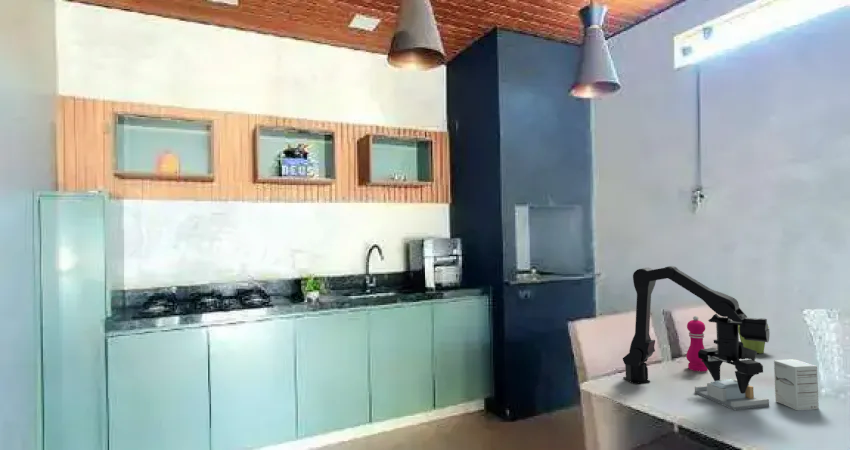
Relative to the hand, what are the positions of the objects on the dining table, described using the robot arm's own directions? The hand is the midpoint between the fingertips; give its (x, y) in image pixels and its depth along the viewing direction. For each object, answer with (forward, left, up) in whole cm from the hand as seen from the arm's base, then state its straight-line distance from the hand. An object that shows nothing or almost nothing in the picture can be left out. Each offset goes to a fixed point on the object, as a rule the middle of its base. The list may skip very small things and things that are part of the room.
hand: (729, 388), depth 141 cm
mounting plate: (0, 0, -3) cm, 3 cm away
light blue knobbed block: (0, 0, -2) cm, 2 cm away
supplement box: (+14, -9, -4) cm, 17 cm away
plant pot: (+54, +44, -4) cm, 70 cm away
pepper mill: (+14, +29, -4) cm, 32 cm away
